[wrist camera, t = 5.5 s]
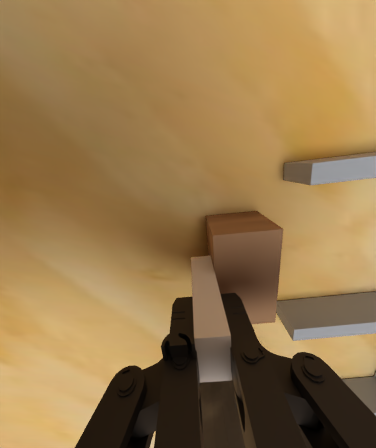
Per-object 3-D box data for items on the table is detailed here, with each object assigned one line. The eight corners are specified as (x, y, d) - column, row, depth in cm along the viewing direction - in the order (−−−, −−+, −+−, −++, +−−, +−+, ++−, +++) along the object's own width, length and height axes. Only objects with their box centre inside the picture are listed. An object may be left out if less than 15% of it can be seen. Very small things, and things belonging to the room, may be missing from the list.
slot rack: (284, 162, 13) (312, 163, 10) (475, 140, 12) (561, 133, 9) (270, 391, 21) (283, 426, 18) (382, 382, 21) (412, 417, 18)
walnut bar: (205, 215, 14) (212, 235, 10) (256, 210, 14) (282, 229, 10) (210, 288, 16) (217, 326, 13) (254, 284, 16) (275, 322, 12)
